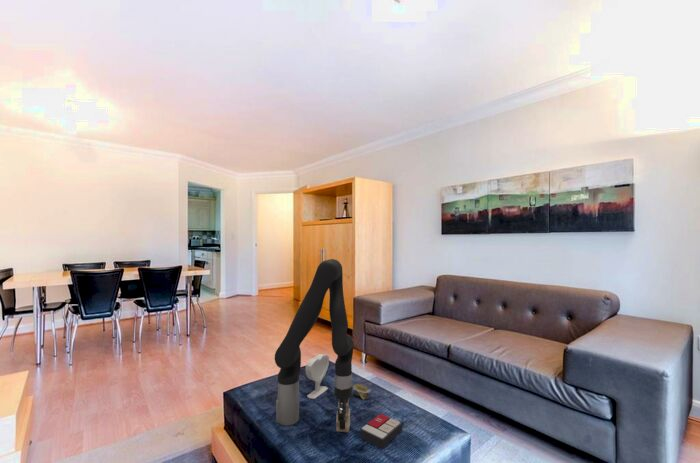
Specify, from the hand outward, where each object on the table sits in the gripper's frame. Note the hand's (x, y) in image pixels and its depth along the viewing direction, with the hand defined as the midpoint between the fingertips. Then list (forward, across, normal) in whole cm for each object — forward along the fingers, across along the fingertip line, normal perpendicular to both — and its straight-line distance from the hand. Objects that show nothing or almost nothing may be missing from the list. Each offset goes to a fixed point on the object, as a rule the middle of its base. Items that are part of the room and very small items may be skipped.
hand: (343, 424), depth 131 cm
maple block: (+1, 0, 0) cm, 1 cm away
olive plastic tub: (+2, -25, +4) cm, 26 cm away
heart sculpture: (+2, -28, -18) cm, 33 cm away
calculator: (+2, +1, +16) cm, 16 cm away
